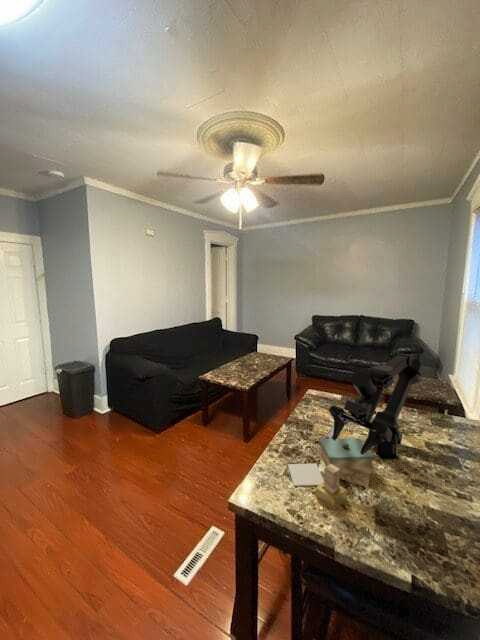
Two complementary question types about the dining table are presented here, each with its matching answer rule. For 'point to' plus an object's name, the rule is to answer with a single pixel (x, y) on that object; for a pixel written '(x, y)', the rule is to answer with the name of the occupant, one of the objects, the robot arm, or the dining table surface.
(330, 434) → the adjustable wrench
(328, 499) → the frame
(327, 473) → the brown square block
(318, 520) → the dining table surface
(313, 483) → the grey mat
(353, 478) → the dining table surface
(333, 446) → the drawer
